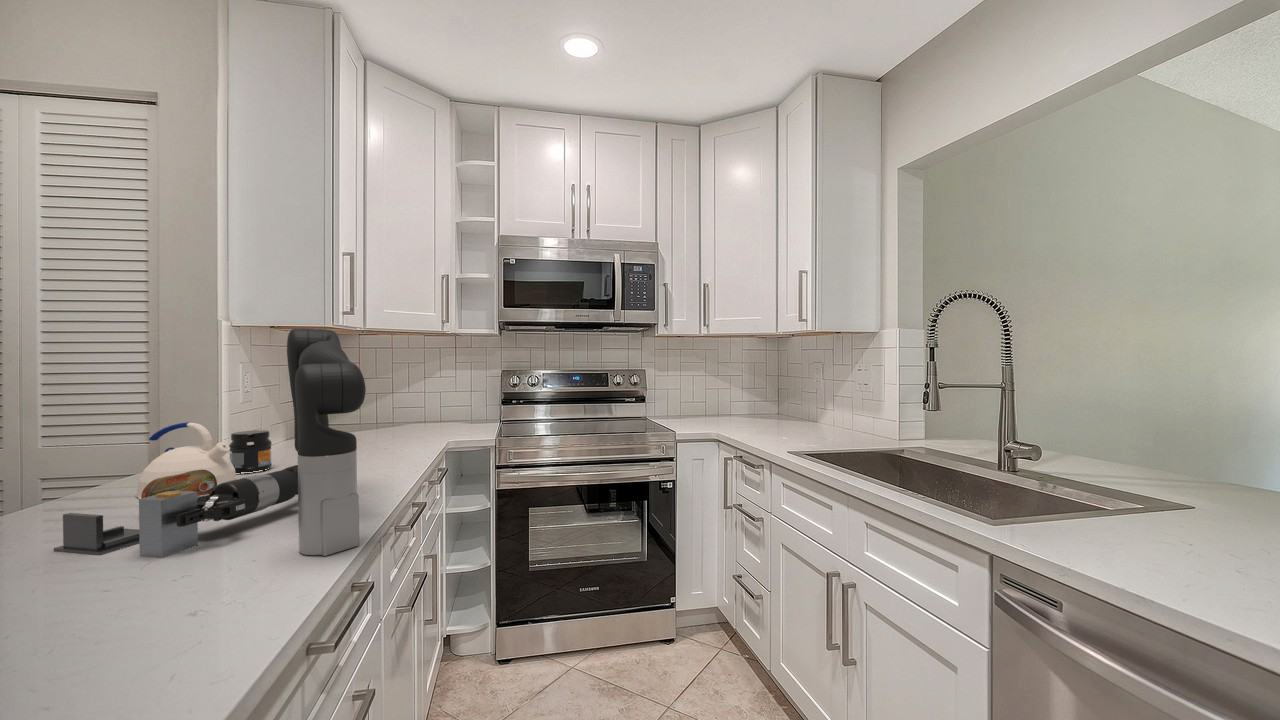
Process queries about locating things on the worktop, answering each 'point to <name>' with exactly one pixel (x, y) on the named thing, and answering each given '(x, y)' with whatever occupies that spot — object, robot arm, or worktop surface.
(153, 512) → the metal block with pad
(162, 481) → the tin
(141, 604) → the worktop surface
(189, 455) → the kettle
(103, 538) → the bracket
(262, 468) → the supplement container
